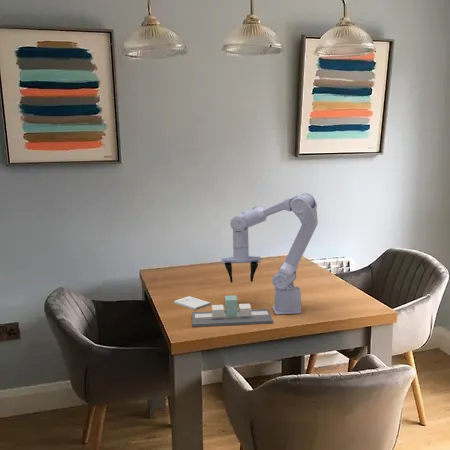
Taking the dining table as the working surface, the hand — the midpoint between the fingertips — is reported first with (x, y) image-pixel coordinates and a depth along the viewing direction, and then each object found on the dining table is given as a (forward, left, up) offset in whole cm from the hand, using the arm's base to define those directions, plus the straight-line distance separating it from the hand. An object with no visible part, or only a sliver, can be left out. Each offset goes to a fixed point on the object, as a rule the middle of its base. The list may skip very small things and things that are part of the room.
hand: (241, 281), depth 203 cm
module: (+5, +14, -8) cm, 16 cm away
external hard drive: (+19, -4, -10) cm, 22 cm away
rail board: (+5, +14, -9) cm, 18 cm away
